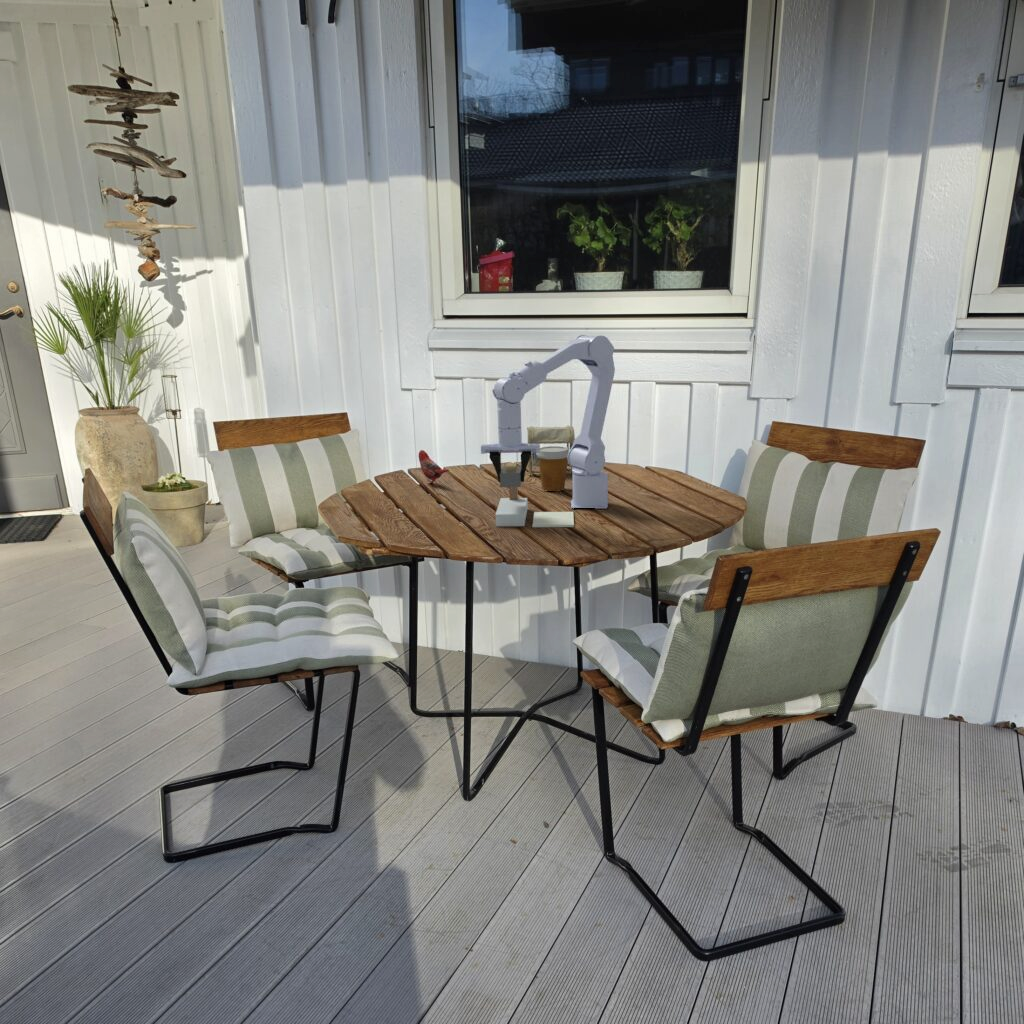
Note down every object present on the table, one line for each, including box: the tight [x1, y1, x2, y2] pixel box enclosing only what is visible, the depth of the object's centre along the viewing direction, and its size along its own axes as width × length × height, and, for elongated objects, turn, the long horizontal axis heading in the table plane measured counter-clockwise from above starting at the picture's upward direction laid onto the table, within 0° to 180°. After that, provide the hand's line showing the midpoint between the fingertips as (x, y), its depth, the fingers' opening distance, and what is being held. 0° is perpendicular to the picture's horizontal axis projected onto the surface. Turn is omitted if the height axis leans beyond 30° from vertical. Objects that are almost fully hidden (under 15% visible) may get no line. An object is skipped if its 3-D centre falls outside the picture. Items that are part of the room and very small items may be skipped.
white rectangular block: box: [495, 487, 529, 527], centre depth 189 cm, size 7×16×6 cm, turn 176°
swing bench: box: [526, 425, 576, 475], centre depth 238 cm, size 15×10×15 cm, turn 91°
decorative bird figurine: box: [418, 449, 450, 485], centre depth 226 cm, size 3×18×10 cm, turn 37°
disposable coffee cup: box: [536, 445, 568, 491], centre depth 216 cm, size 10×10×12 cm
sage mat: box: [531, 511, 575, 528], centre depth 187 cm, size 10×12×1 cm
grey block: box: [499, 462, 523, 488], centre depth 187 cm, size 5×8×4 cm, turn 176°
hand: (511, 481), depth 188 cm, fingers closed on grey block, 5 cm apart
